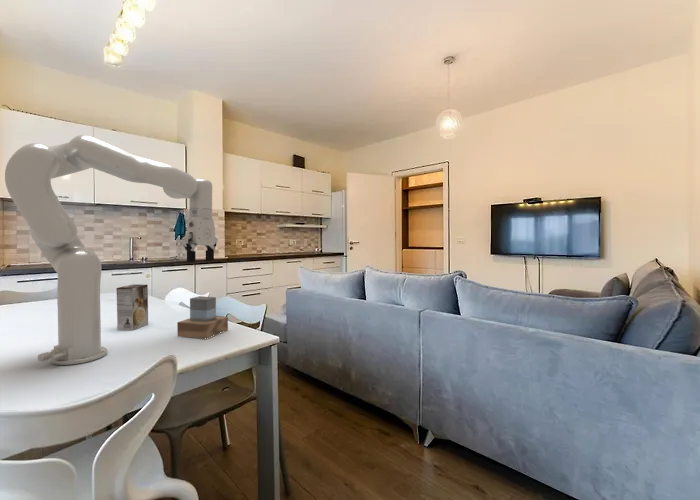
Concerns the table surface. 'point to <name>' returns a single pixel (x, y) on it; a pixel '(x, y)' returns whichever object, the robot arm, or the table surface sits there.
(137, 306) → the coffee box
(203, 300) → the block
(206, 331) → the walnut stand
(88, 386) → the table surface
